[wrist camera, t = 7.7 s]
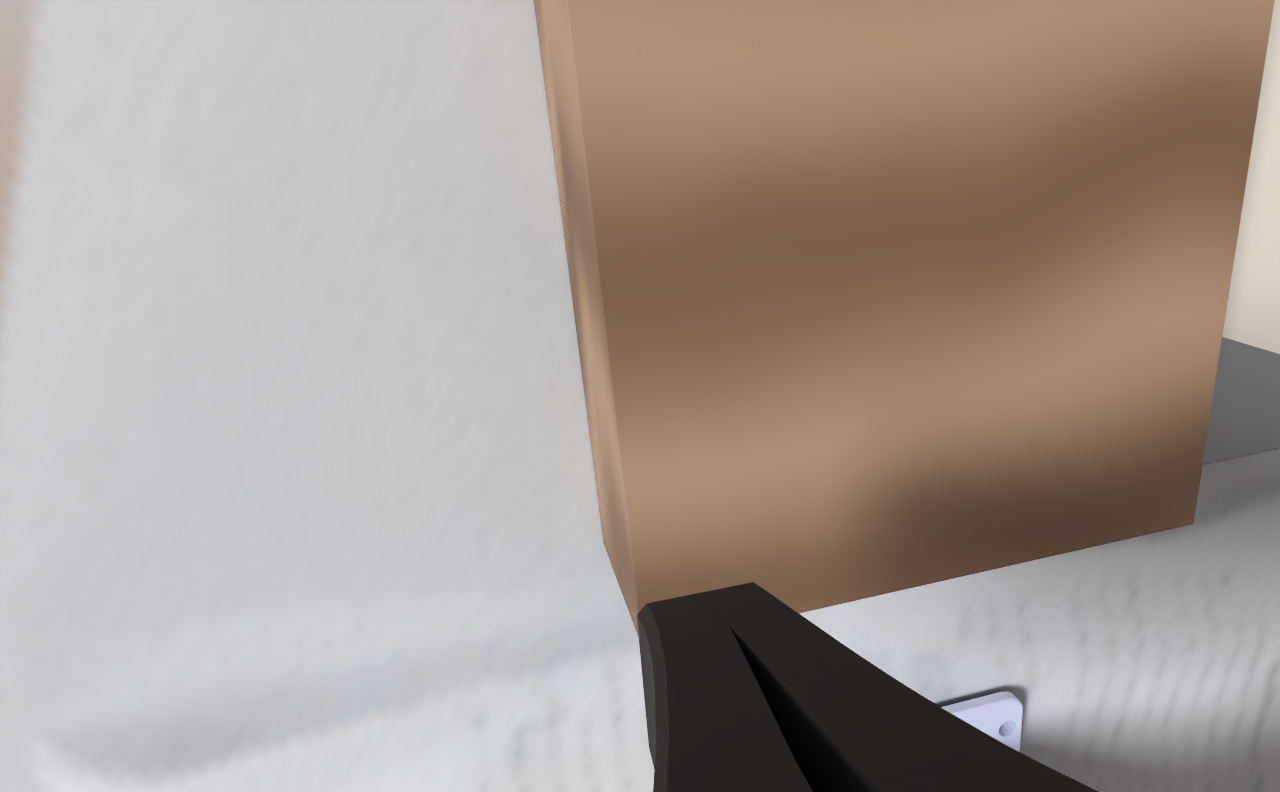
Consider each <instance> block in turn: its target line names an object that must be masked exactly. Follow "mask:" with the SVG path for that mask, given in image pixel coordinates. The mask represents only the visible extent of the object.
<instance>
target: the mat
mask: <svg viewBox="0 0 1280 792" xmlns="http://www.w3.org/2000/svg"><path fill="white" fill-rule="evenodd" d="M1279 448H1280V354H1277V353H1274V352H1271V351H1267V350H1264V349H1261V348H1257V347H1254V346H1251V345H1248V344H1244V343H1241V342H1238V341H1234V340H1231V339H1228V338H1224V337H1222V341H1221V348H1220V354H1219V360H1218V367H1217V373H1216V380H1215V386H1214V393H1213V399H1212V405H1211V412H1210V418H1209V425H1208V431H1207V437H1206V444H1205V450H1204V457H1203V463H1202V465H1203V464H1208V463H1213V462H1218V461H1222V460H1227V459H1232V458H1236V457H1241V456H1246V455H1251V454H1255V453H1260V452H1265V451H1269V450H1274V449H1279Z"/></svg>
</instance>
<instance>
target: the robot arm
mask: <svg viewBox="0 0 1280 792" xmlns="http://www.w3.org/2000/svg"><path fill="white" fill-rule="evenodd" d="M637 622H638V633H639V643H640V654H641V665H642V675H643V686H644V697H645V707H646V718H647V729H648V739H649V748H650V752H651V756H652V760H653V765H654V769H655V773H654V789H653V792H1098V791H1096V790H1094V789H1092V788H1090V787H1088V786H1086V785H1083V784H1081V783H1079V782H1077V781H1075V780H1073V779H1071V778H1069V777H1067V776H1065V775H1063V774H1061V773H1059V772H1057V771H1055V770H1053V769H1051V768H1049V767H1047V766H1045V765H1043V764H1041V763H1039V762H1037V761H1035V760H1033V759H1031V758H1030V757H1028V756H1026V755H1024V754H1022V753H1020V741H1021V728H1022V716H1023V705H1022V703H1021V702H1020V700H1019V699H1018V698H1017V697H1016V696H1015V695H1014V694H1013V693H1011V692H1008V691H1004V692H998V693H994V694H990V695H987V696H983V697H979V698H975V699H971V700H967V701H963V702H959V703H955V704H951V705H947V706H943V707H939V706H938V705H936V704H934V703H933V702H931V701H929V700H928V699H926V698H925V697H923V696H921V695H920V694H918V693H917V692H915V691H913V690H912V689H910V688H908V687H907V686H905V685H904V684H902V683H901V682H899V681H897V680H896V679H894V678H893V677H891V676H890V675H888V674H886V673H885V672H883V671H882V670H880V669H879V668H877V667H876V666H874V665H873V664H871V663H870V662H868V661H867V660H865V659H864V658H862V657H861V656H859V655H858V654H856V653H855V652H853V651H852V650H850V649H849V648H847V647H846V646H844V645H843V644H841V643H840V642H839V641H837V640H836V639H834V638H833V637H831V636H830V635H829V634H827V633H826V632H824V631H823V630H821V629H820V628H818V627H817V626H816V625H814V624H813V623H811V622H810V621H808V620H807V619H806V618H804V617H803V616H801V615H800V614H799V613H797V612H796V611H794V610H793V609H791V608H790V607H789V606H787V605H786V604H784V603H783V602H782V601H780V600H779V599H777V598H776V597H775V596H773V595H772V594H770V593H769V592H767V591H766V590H764V589H763V588H761V587H760V586H758V585H757V584H755V583H754V582H751V583H746V584H741V585H736V586H731V587H726V588H721V589H716V590H711V591H706V592H701V593H696V594H691V595H686V596H681V597H676V598H671V599H666V600H661V601H656V602H651V603H646V604H645V606H644V607H643V608H642V609H641V610H640V611H639V613H638V614H637Z"/></svg>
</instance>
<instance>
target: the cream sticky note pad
mask: <svg viewBox="0 0 1280 792" xmlns="http://www.w3.org/2000/svg"><path fill="white" fill-rule="evenodd" d="M1222 337H1224V338H1228V339H1231V340H1234V341H1238V342H1241V343H1244V344H1248V345H1251V346H1254V347H1257V348H1261V349H1264V350H1267V351H1271V352H1274V353H1277V354H1280V0H1275V1H1274V7H1273V14H1272V20H1271V27H1270V33H1269V40H1268V46H1267V52H1266V59H1265V65H1264V72H1263V78H1262V84H1261V91H1260V97H1259V104H1258V110H1257V117H1256V123H1255V129H1254V136H1253V142H1252V149H1251V155H1250V161H1249V168H1248V174H1247V181H1246V187H1245V194H1244V200H1243V206H1242V213H1241V219H1240V226H1239V232H1238V239H1237V245H1236V251H1235V258H1234V264H1233V271H1232V277H1231V283H1230V290H1229V296H1228V303H1227V309H1226V316H1225V322H1224V328H1223V335H1222Z"/></svg>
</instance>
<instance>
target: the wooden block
mask: <svg viewBox="0 0 1280 792" xmlns="http://www.w3.org/2000/svg"><path fill="white" fill-rule="evenodd" d="M1274 1H1275V0H534V4H535V12H536V19H537V27H538V35H539V43H540V51H541V58H542V66H543V74H544V82H545V90H546V97H547V105H548V113H549V121H550V128H551V136H552V144H553V152H554V160H555V167H556V175H557V183H558V191H559V198H560V206H561V214H562V222H563V230H564V237H565V245H566V253H567V261H568V268H569V276H570V284H571V292H572V300H573V307H574V315H575V323H576V331H577V338H578V346H579V354H580V362H581V370H582V377H583V385H584V393H585V401H586V409H587V416H588V424H589V432H590V440H591V447H592V455H593V463H594V471H595V479H596V486H597V494H598V502H599V510H600V517H601V525H602V533H603V541H604V546H605V548H606V551H607V554H608V556H609V559H610V562H611V564H612V567H613V570H614V572H615V575H616V578H617V580H618V583H619V586H620V588H621V591H622V594H623V596H624V599H625V602H626V605H627V607H628V610H629V613H630V615H631V618H632V621H633V623H634V626H635V629H636V631H637V634H638V637H639V633H638V622H637V614H638V613H639V611H640V610H641V609H642V608H643V607H644V606H645V604H646V603H651V602H656V601H661V600H666V599H671V598H676V597H681V596H686V595H691V594H696V593H701V592H706V591H711V590H716V589H721V588H726V587H731V586H736V585H741V584H746V583H751V582H754V583H755V584H757V585H758V586H760V587H761V588H763V589H764V590H766V591H767V592H769V593H770V594H772V595H773V596H775V597H776V598H777V599H779V600H780V601H782V602H783V603H784V604H786V605H787V606H789V607H790V608H791V609H793V610H794V611H796V612H797V613H802V612H806V611H811V610H815V609H820V608H824V607H829V606H833V605H837V604H842V603H846V602H851V601H855V600H859V599H864V598H868V597H873V596H877V595H882V594H886V593H890V592H895V591H899V590H904V589H908V588H913V587H917V586H921V585H926V584H930V583H935V582H939V581H943V580H948V579H952V578H957V577H961V576H966V575H970V574H974V573H979V572H983V571H988V570H992V569H996V568H1001V567H1005V566H1010V565H1014V564H1019V563H1023V562H1027V561H1032V560H1036V559H1041V558H1045V557H1049V556H1054V555H1058V554H1063V553H1067V552H1072V551H1076V550H1080V549H1085V548H1089V547H1094V546H1098V545H1103V544H1107V543H1111V542H1116V541H1120V540H1125V539H1129V538H1133V537H1138V536H1142V535H1147V534H1151V533H1156V532H1160V531H1164V530H1169V529H1173V528H1178V527H1182V526H1186V525H1191V524H1193V521H1194V514H1195V508H1196V502H1197V495H1198V489H1199V482H1200V476H1201V470H1202V463H1203V457H1204V450H1205V444H1206V437H1207V431H1208V425H1209V418H1210V412H1211V405H1212V399H1213V393H1214V386H1215V380H1216V373H1217V367H1218V360H1219V354H1220V348H1221V341H1222V335H1223V328H1224V322H1225V316H1226V309H1227V303H1228V296H1229V290H1230V283H1231V277H1232V271H1233V264H1234V258H1235V251H1236V245H1237V239H1238V232H1239V226H1240V219H1241V213H1242V206H1243V200H1244V194H1245V187H1246V181H1247V174H1248V168H1249V161H1250V155H1251V149H1252V142H1253V136H1254V129H1255V123H1256V117H1257V110H1258V104H1259V97H1260V91H1261V84H1262V78H1263V72H1264V65H1265V59H1266V52H1267V46H1268V40H1269V33H1270V27H1271V20H1272V14H1273V7H1274Z"/></svg>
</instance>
